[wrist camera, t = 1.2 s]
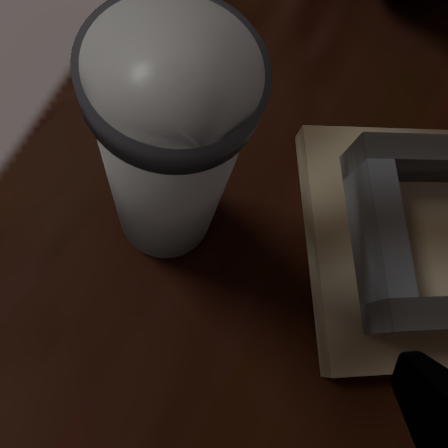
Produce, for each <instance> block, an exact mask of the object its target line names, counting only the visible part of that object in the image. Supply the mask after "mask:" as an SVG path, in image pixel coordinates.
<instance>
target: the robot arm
mask: <svg viewBox="0 0 448 448" xmlns="http://www.w3.org/2000/svg"><path fill="white" fill-rule="evenodd" d="M391 384H392V389H393V391H394V394H395V396H396V399H397V401H398V404H399V406H400V409H401V412H402V414H403V417H404V419H405V422H406V424H407V427H408V429H409V432H410V434H411V437H412V439H413V442H414V444H415V447H416V448H448V368H446V367H445V366H443V365H442V364H440V363H438V362H437V361H435V360H434V359H432V358H431V357H429V356H428V355H426V354H424V353H423V352H421V351H418V350H414V351H403V352H401V353H400V354H399V356H398V358H397V361H396V365H395V368H394V371H393V374H392V378H391Z"/></svg>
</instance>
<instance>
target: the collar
mask: <svg viewBox="0 0 448 448" xmlns="http://www.w3.org/2000/svg"><path fill="white" fill-rule="evenodd" d="M295 141H296V151H297V160H298V169H299V179H300V188H301V197H302V207H303V216H304V226H305V235H306V244H307V254H308V263H309V272H310V282H311V291H312V300H313V310H314V319H315V328H316V338H317V347H318V356H319V366H320V375H321V377H327V378H342V377H358V376H373V375H389V374H393V371H394V368H395V365H396V361H397V358H398V356H399V354H400V353H401V352H403V351H414V350H418V351H421V352H423V353H424V354H426V355H428V356H429V357H431V358H432V359H434V360H435V361H437V362H438V363H440V364H442V365H443V366H445V367H446V368H448V130H433V129H402V128H372V127H341V126H311V125H303V126H302V127H301V129H300V131H299V132H298V134H297V135H296V137H295Z"/></svg>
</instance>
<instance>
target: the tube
mask: <svg viewBox="0 0 448 448" xmlns="http://www.w3.org/2000/svg"><path fill="white" fill-rule="evenodd" d="M71 76H72V81H73V85H74V88H75V92H76V95H77V98H78V101H79V105H80V108H81V111H82V114H83V117H84V119H85V121H86V123H87V125H88V127H89V129H90V131H91V132H92V133H93V135H94V136H95V138H96V139H97V141H98V145H99V149H100V152H101V156H102V159H103V163H104V166H105V170H106V174H107V177H108V181H109V184H110V188H111V191H112V195H113V199H114V202H115V206H116V209H117V213H118V216H119V220H120V224H121V227H122V230H123V232H124V234H125V236H126V238H127V239H128V241H129V242H130V243H131V244H132V245H133V246H134V247H135V248H136V249H138V250H139V251H141V252H142V253H145V254H147V255H149V256H152V257H157V258H174V257H179V256H181V255H184V254H186V253H188V252H190V251H191V250H193V249H194V248H195V247H196V246H198V245H199V243H200V242H201V241H202V240H203V238H204V237H205V235H206V233H207V231H208V228H209V226H210V223H211V221H212V218H213V216H214V213H215V211H216V209H217V206H218V204H219V201H220V199H221V196H222V194H223V191H224V189H225V186H226V184H227V181H228V179H229V177H230V174H231V172H232V169H233V167H234V164H235V162H236V159H237V157H238V154H239V152H240V151H241V150H242V149H243V147H244V146H245V145H246V144H247V143H248V142H249V140H250V138H251V137H252V135H253V134H254V132H255V130H256V127H257V125H258V123H259V121H260V119H261V116H262V114H263V112H264V109H265V107H266V105H267V103H268V99H269V96H270V92H271V85H272V69H271V63H270V58H269V55H268V52H267V49H266V47H265V45H264V43H263V40H262V39H261V37H260V35H259V34H258V32H257V31H256V29H255V28H254V27H253V26H252V24H251V23H250V22H249V21H248V20H247V19H246V18H245V17H244V16H243V15H242V14H241V13H240V12H238V11H237V10H236V9H235V8H233V7H232V6H231V5H229V4H227V3H226V2H224V1H222V0H108V1H106V2H104V3H103V4H102V5H101V6H99V7H98V8H97V9H95V10H94V11H93V12H92V14H91V15H90V16H89V17H88V18H87V19H86V20H85V22H84V23H83V25H82V26H81V28H80V30H79V32H78V34H77V36H76V38H75V41H74V44H73V47H72V53H71Z"/></svg>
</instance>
